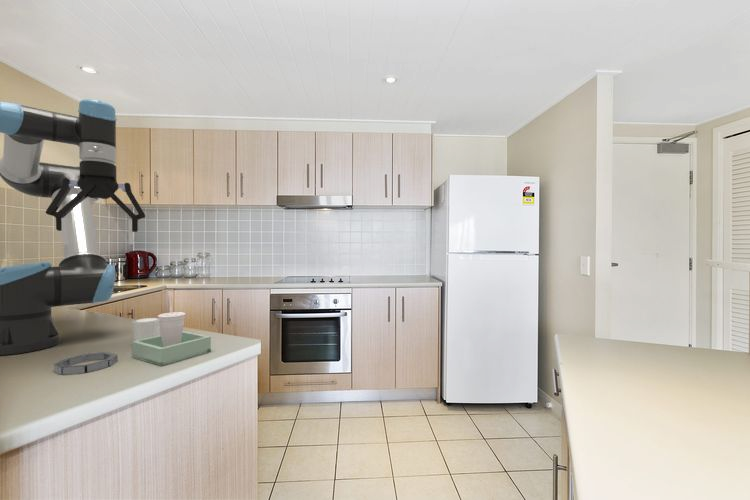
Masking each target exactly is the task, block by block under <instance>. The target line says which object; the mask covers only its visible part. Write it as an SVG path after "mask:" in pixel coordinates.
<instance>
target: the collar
mask: <svg viewBox="0 0 750 500" xmlns="http://www.w3.org/2000/svg"><path fill="white" fill-rule="evenodd" d="M99 360H100V361H99ZM86 361H88V362H89V361H96V362H91V363H87V364H80V363H84V362H86ZM117 362H118V354H117V353H114V352H110V351H109V352H108V351H102V352H99V351H98V352H89V353H84V354H83V353H82V354H78V355H74V356H70V357H66V358H63V359H61V360H59V361H57V362H55V363H53V372H54V373H56V374H59V375H63V376H65V375H76V374H86V373H91V372H95V371H99V370H102V369H106V368H109V367H111V366H112V365H114V364H115V363H117ZM75 364H80V365H75Z"/></svg>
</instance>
